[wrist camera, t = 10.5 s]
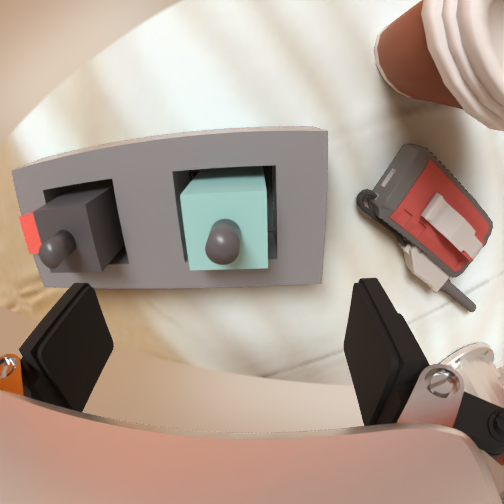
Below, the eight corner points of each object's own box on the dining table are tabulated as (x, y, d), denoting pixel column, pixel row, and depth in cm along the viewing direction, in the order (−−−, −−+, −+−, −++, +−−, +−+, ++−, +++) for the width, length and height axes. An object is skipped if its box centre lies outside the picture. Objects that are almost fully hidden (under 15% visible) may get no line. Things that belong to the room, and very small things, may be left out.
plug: (262, 165, 21) (268, 203, 13) (264, 222, 23) (269, 288, 15) (201, 168, 21) (170, 207, 13) (206, 224, 23) (183, 289, 15)
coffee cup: (357, -5, 15) (436, -73, 4) (456, 29, 15) (559, 13, 4) (353, 103, 19) (449, 106, 8) (452, 127, 19) (562, 160, 8)
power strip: (313, 126, 20) (351, 139, 12) (310, 253, 24) (335, 326, 16) (44, 157, 20) (-29, 188, 12) (68, 261, 25) (16, 319, 17)
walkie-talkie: (334, 216, 23) (461, 309, 28) (350, 239, 19) (480, 333, 24) (396, 127, 20) (507, 249, 24) (424, 133, 16) (531, 268, 20)
